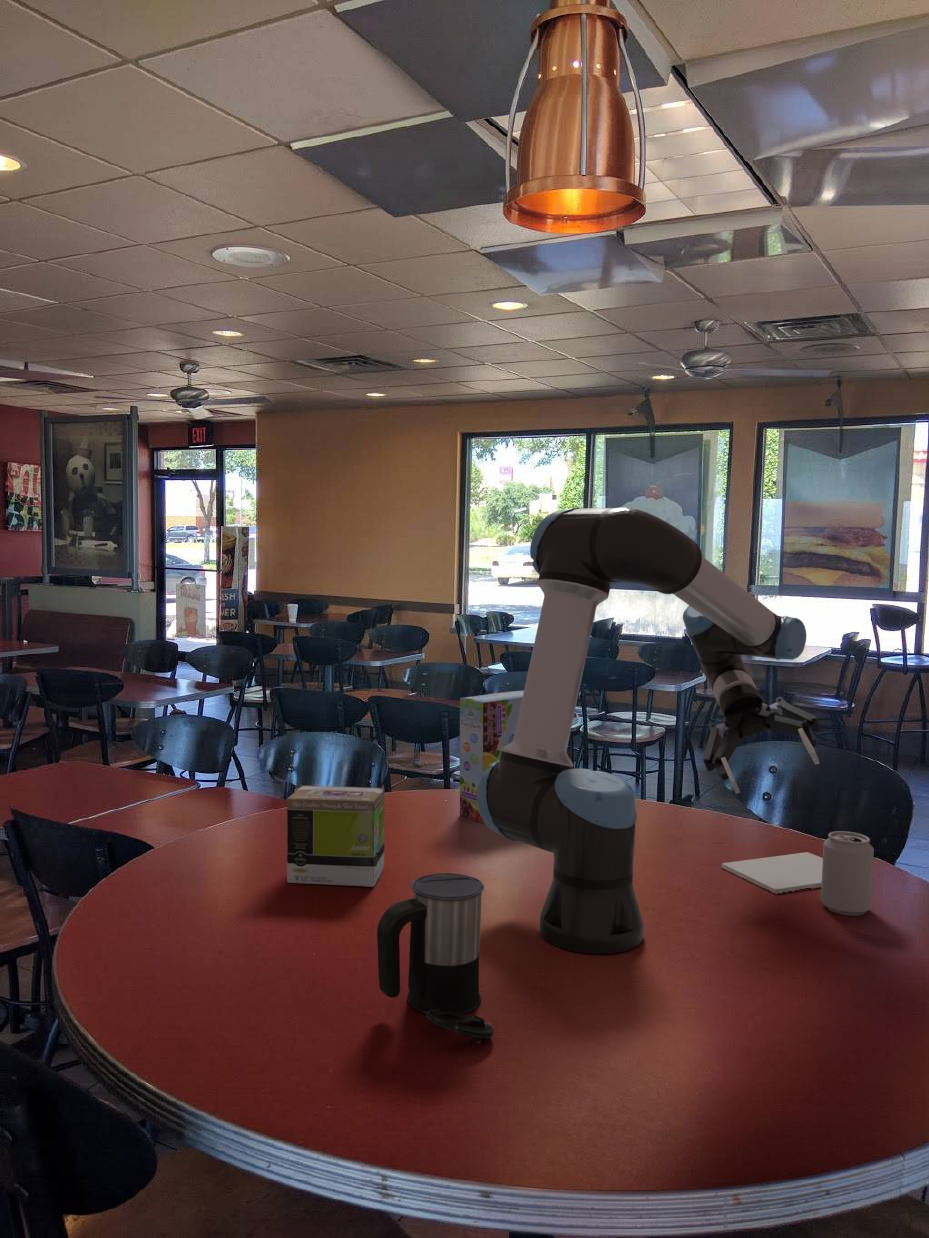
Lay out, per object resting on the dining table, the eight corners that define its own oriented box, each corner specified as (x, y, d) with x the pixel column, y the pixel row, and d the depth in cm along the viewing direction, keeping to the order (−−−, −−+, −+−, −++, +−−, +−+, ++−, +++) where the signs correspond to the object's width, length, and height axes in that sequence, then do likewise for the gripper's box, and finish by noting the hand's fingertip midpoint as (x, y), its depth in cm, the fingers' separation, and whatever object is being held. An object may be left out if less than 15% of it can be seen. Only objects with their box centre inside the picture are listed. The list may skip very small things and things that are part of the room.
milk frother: (441, 976, 125) (443, 866, 124) (539, 1016, 115) (543, 896, 114) (363, 1015, 114) (365, 895, 113) (464, 1063, 104) (468, 931, 103)
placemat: (775, 893, 158) (775, 889, 158) (721, 867, 171) (721, 863, 171) (865, 880, 166) (865, 875, 166) (807, 856, 179) (807, 852, 179)
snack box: (529, 799, 216) (532, 687, 214) (556, 808, 209) (560, 692, 207) (455, 815, 202) (458, 695, 200) (482, 824, 195) (485, 700, 193)
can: (878, 918, 148) (882, 843, 148) (830, 916, 149) (834, 841, 148) (859, 900, 156) (863, 829, 155) (813, 899, 156) (817, 828, 155)
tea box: (384, 869, 166) (386, 786, 165) (373, 889, 156) (375, 801, 155) (301, 864, 168) (302, 782, 167) (284, 884, 158) (285, 796, 157)
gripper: (810, 689, 174) (855, 761, 155) (681, 739, 178) (710, 814, 160) (799, 658, 170) (843, 728, 152) (668, 709, 175) (696, 783, 156)
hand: (775, 773), depth 156 cm, fingers open, 13 cm apart
